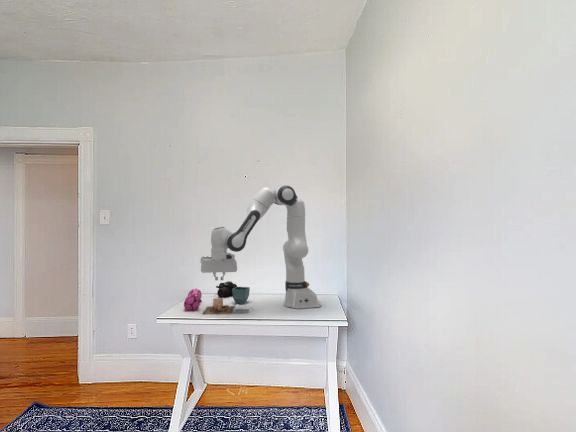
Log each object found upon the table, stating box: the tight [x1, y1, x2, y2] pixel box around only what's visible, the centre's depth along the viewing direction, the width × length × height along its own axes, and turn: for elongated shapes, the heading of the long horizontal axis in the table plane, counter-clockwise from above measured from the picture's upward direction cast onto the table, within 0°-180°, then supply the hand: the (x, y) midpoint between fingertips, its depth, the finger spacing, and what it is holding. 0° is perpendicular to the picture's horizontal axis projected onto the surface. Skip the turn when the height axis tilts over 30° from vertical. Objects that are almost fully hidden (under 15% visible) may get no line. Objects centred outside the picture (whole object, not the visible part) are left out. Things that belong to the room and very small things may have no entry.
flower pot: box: [232, 286, 251, 305], centre depth 215 cm, size 9×9×9 cm
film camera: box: [215, 280, 238, 299], centre depth 232 cm, size 18×12×10 cm
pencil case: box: [183, 287, 203, 312], centre depth 205 cm, size 21×10×10 cm, turn 12°
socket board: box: [202, 304, 236, 315], centre depth 197 cm, size 16×16×2 cm
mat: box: [233, 308, 250, 315], centre depth 194 cm, size 8×8×1 cm
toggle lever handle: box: [212, 297, 224, 310], centre depth 194 cm, size 10×5×6 cm, turn 16°
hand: (219, 280), depth 197 cm, fingers closed
